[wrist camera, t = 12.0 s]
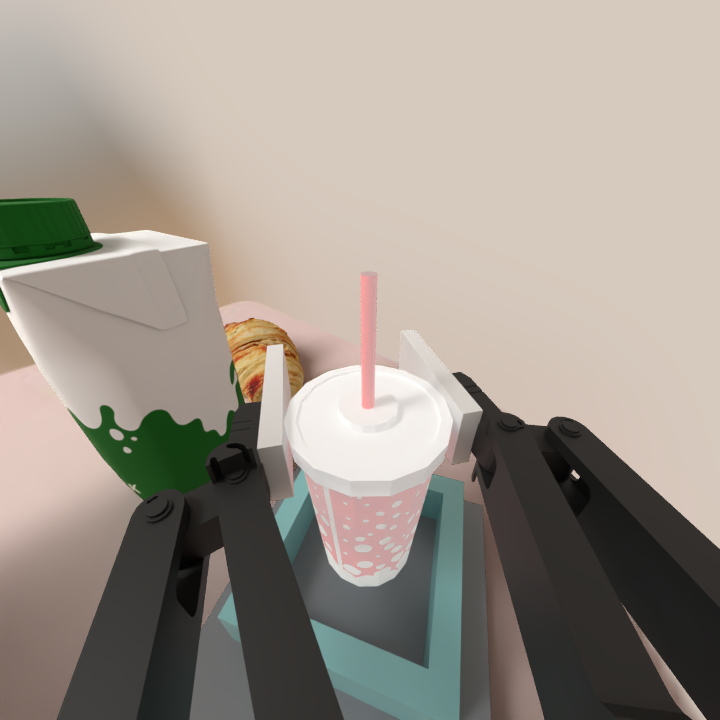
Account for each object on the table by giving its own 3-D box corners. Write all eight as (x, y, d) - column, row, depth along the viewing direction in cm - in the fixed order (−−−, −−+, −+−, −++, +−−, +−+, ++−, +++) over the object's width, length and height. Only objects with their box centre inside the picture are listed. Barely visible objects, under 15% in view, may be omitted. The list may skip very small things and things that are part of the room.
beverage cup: (442, 519, 16) (507, 264, 9) (390, 643, 12) (430, 349, 5) (352, 469, 19) (344, 244, 12) (284, 554, 15) (204, 284, 7)
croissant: (322, 435, 32) (349, 372, 30) (230, 444, 25) (257, 362, 23) (255, 352, 47) (270, 306, 45) (183, 343, 40) (198, 287, 38)
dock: (498, 1246, 7) (567, 1465, 4) (73, 875, 10) (-8, 892, 8) (479, 515, 21) (492, 479, 19) (304, 466, 25) (299, 430, 23)
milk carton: (119, 482, 24) (-85, 200, 13) (221, 418, 30) (142, 191, 19) (171, 552, 19) (-72, 213, 8) (278, 460, 25) (218, 196, 15)
